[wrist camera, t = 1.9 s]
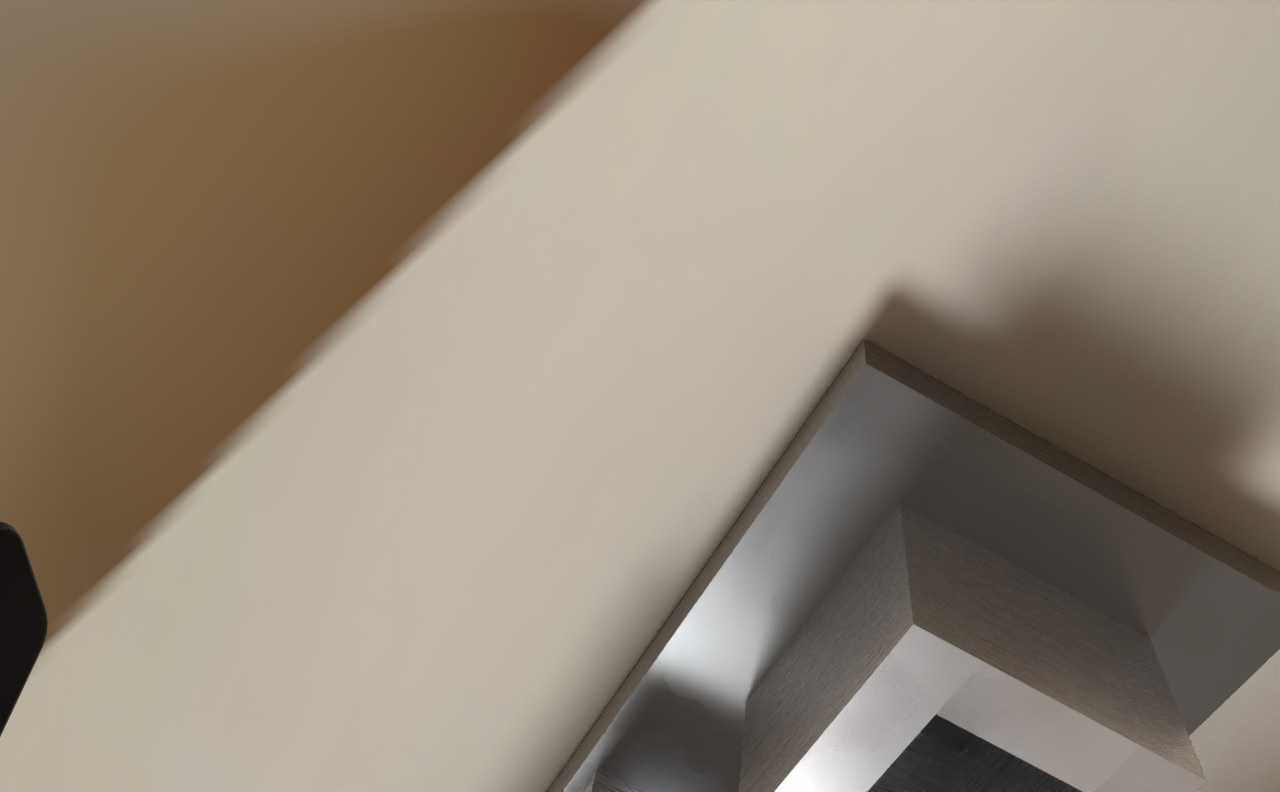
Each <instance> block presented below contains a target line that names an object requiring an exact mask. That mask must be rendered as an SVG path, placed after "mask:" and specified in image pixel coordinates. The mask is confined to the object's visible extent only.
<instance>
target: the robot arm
mask: <svg viewBox="0 0 1280 792" xmlns="http://www.w3.org/2000/svg"><path fill="white" fill-rule="evenodd" d="M47 623H48V622H47V612H46V607H45V604H44V602H43V598H42V595H41V592H40V589H39V586H38V583H37V580H36V577H35V574H34V571H33V568H32V565H31V562H30V559H29V556H28V553H27V550H26V547H25V544H24V541H23V539H22V537H21V535H20V534H19V533H18V531H17V530H16V529H15V528H14V527H13V526H11V525H9V524H7V523H4V522H0V736H1V734H2V732H3V730H4V728H5V726H6V724H7V721H8V719H9V717H10V715H11V713H12V711H13V709H14V707H15V705H16V702H17V700H18V698H19V696H20V694H21V692H22V690H23V688H24V685H25V683H26V681H27V679H28V677H29V675H30V673H31V671H32V669H33V666H34V664H35V662H36V660H37V658H38V656H39V654H40V652H41V649H42V647H43V644H44V641H45V637H46V633H47Z"/></svg>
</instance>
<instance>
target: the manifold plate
mask: <svg viewBox="0 0 1280 792" xmlns="http://www.w3.org/2000/svg"><path fill="white" fill-rule="evenodd" d="M1279 649H1280V573H1279V572H1278V571H1276V570H1274V569H1272V568H1271V567H1269V566H1267V565H1265V564H1263V563H1262V562H1260V561H1258V560H1256V559H1254V558H1253V557H1251V556H1249V555H1247V554H1246V553H1244V552H1242V551H1240V550H1238V549H1237V548H1235V547H1233V546H1231V545H1230V544H1228V543H1226V542H1224V541H1222V540H1221V539H1219V538H1217V537H1215V536H1213V535H1212V534H1210V533H1208V532H1206V531H1205V530H1203V529H1201V528H1199V527H1197V526H1196V525H1194V524H1192V523H1190V522H1189V521H1187V520H1185V519H1183V518H1181V517H1180V516H1178V515H1176V514H1174V513H1173V512H1171V511H1169V510H1167V509H1165V508H1164V507H1162V506H1160V505H1158V504H1156V503H1155V502H1153V501H1151V500H1149V499H1148V498H1146V497H1144V496H1142V495H1140V494H1139V493H1137V492H1135V491H1133V490H1132V489H1130V488H1128V487H1126V486H1124V485H1123V484H1121V483H1119V482H1117V481H1115V480H1114V479H1112V478H1110V477H1108V476H1107V475H1105V474H1103V473H1101V472H1099V471H1098V470H1096V469H1094V468H1092V467H1091V466H1089V465H1087V464H1085V463H1083V462H1082V461H1080V460H1078V459H1076V458H1075V457H1073V456H1071V455H1069V454H1067V453H1066V452H1064V451H1062V450H1060V449H1058V448H1057V447H1055V446H1053V445H1051V444H1050V443H1048V442H1046V441H1044V440H1042V439H1041V438H1039V437H1037V436H1035V435H1034V434H1032V433H1030V432H1028V431H1026V430H1025V429H1023V428H1021V427H1019V426H1017V425H1016V424H1014V423H1012V422H1010V421H1009V420H1007V419H1005V418H1003V417H1001V416H1000V415H998V414H996V413H994V412H993V411H991V410H989V409H987V408H985V407H984V406H982V405H980V404H978V403H976V402H975V401H973V400H971V399H969V398H968V397H966V396H964V395H962V394H960V393H959V392H957V391H955V390H953V389H952V388H950V387H948V386H946V385H944V384H943V383H941V382H939V381H937V380H936V379H934V378H932V377H930V376H928V375H927V374H925V373H923V372H921V371H919V370H918V369H916V368H914V367H912V366H911V365H909V364H907V363H905V362H903V361H902V360H900V359H898V358H896V357H895V356H893V355H891V354H889V353H887V352H886V351H884V350H882V349H880V348H878V347H877V346H875V345H873V344H871V343H870V342H868V341H866V340H863V341H862V342H861V344H860V345H859V347H858V348H857V350H856V351H855V352H854V354H853V355H852V357H851V358H850V360H849V361H848V362H847V364H846V365H845V367H844V368H843V370H842V371H841V372H840V374H839V375H838V377H837V378H836V380H835V381H834V383H833V384H832V385H831V387H830V388H829V390H828V391H827V393H826V394H825V395H824V397H823V398H822V400H821V401H820V403H819V404H818V405H817V407H816V408H815V410H814V411H813V413H812V414H811V415H810V417H809V418H808V420H807V421H806V423H805V424H804V425H803V427H802V428H801V430H800V431H799V433H798V434H797V435H796V437H795V438H794V440H793V441H792V443H791V444H790V445H789V447H788V448H787V450H786V451H785V453H784V454H783V455H782V457H781V458H780V460H779V461H778V463H777V464H776V465H775V467H774V468H773V470H772V471H771V473H770V474H769V476H768V477H767V478H766V480H765V481H764V483H763V484H762V486H761V487H760V488H759V490H758V491H757V493H756V494H755V496H754V497H753V498H752V500H751V501H750V503H749V504H748V506H747V507H746V508H745V510H744V511H743V513H742V514H741V516H740V517H739V518H738V520H737V521H736V523H735V524H734V526H733V527H732V528H731V530H730V531H729V533H728V534H727V536H726V537H725V538H724V540H723V541H722V543H721V544H720V546H719V547H718V548H717V550H716V551H715V553H714V554H713V556H712V557H711V558H710V560H709V561H708V563H707V564H706V566H705V567H704V569H703V570H702V571H701V573H700V574H699V576H698V577H697V579H696V580H695V581H694V583H693V584H692V586H691V587H690V589H689V590H688V591H687V593H686V594H685V596H684V597H683V599H682V600H681V601H680V603H679V604H678V606H677V607H676V609H675V610H674V611H673V613H672V614H671V616H670V617H669V619H668V620H667V621H666V623H665V624H664V626H663V627H662V629H661V630H660V631H659V633H658V634H657V636H656V637H655V639H654V640H653V641H652V643H651V644H650V646H649V647H648V649H647V650H646V651H645V653H644V654H643V656H642V657H641V659H640V660H639V662H638V663H637V664H636V666H635V667H634V669H633V670H632V672H631V673H630V674H629V676H628V677H627V679H626V680H625V682H624V683H623V684H622V686H621V687H620V689H619V690H618V692H617V693H616V694H615V696H614V697H613V699H612V700H611V702H610V703H609V704H608V706H607V707H606V709H605V710H604V712H603V713H602V714H601V716H600V717H599V719H598V720H597V722H596V723H595V724H594V726H593V727H592V729H591V730H590V732H589V733H588V734H587V736H586V737H585V739H584V740H583V742H582V743H581V744H580V746H579V747H578V749H577V750H576V752H575V753H574V755H573V756H572V757H571V759H570V760H569V762H568V763H567V765H566V766H565V767H564V769H563V770H562V772H561V773H560V775H559V776H558V777H557V779H556V780H555V782H554V783H553V785H552V786H551V787H550V789H549V790H548V792H1196V791H1197V790H1198V789H1199V788H1200V787H1201V786H1202V785H1203V784H1204V783H1205V782H1206V778H1205V776H1204V773H1203V770H1202V768H1201V765H1200V763H1199V760H1198V758H1197V755H1196V753H1195V750H1194V748H1193V745H1192V743H1191V740H1190V738H1189V735H1191V734H1192V733H1193V732H1194V731H1195V730H1196V729H1197V728H1198V727H1199V726H1200V725H1201V724H1202V723H1203V722H1204V721H1205V720H1206V719H1207V718H1208V717H1209V716H1210V715H1211V714H1212V713H1213V712H1214V711H1215V710H1216V709H1218V708H1219V707H1220V706H1221V705H1222V704H1223V703H1224V702H1225V701H1226V700H1227V699H1228V698H1229V697H1230V696H1231V695H1232V694H1233V693H1234V692H1235V691H1236V690H1237V689H1238V688H1239V687H1240V686H1241V685H1242V684H1243V683H1245V682H1246V681H1247V680H1248V679H1249V678H1250V677H1251V676H1252V675H1253V674H1254V673H1255V672H1256V671H1257V670H1258V669H1259V668H1260V667H1261V666H1262V665H1263V664H1264V663H1265V662H1266V661H1267V660H1268V659H1269V658H1270V657H1272V656H1273V655H1274V654H1275V653H1276V652H1277V651H1278V650H1279Z"/></svg>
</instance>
